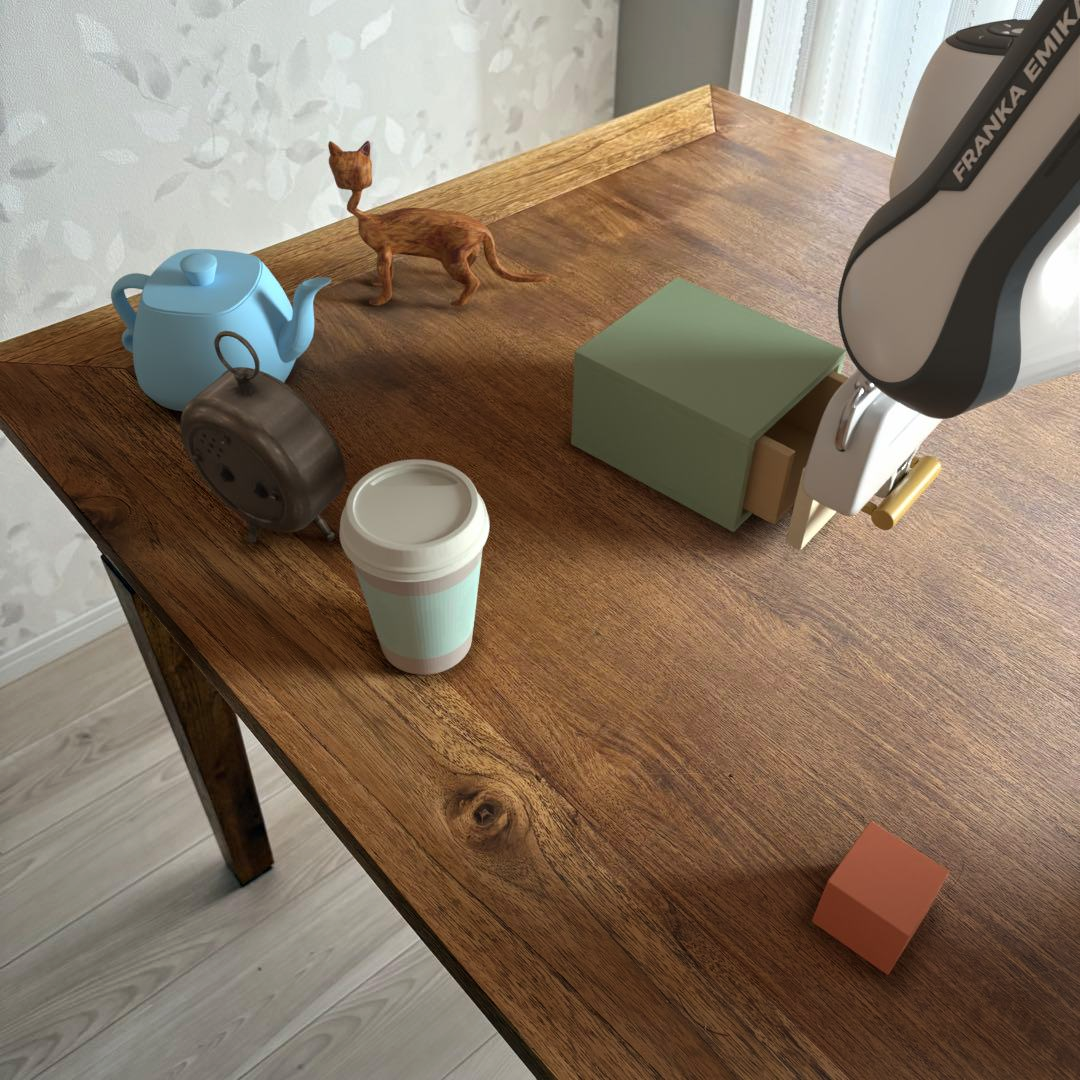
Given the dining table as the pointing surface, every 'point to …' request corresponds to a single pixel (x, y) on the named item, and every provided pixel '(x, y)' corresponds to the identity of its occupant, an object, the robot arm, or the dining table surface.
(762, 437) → the drawer
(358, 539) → the coffee cup
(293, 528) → the alarm clock
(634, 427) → the cabinet
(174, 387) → the teapot
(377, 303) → the cat figurine
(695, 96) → the dining table surface
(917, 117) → the robot arm
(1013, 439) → the dining table surface
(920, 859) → the block
